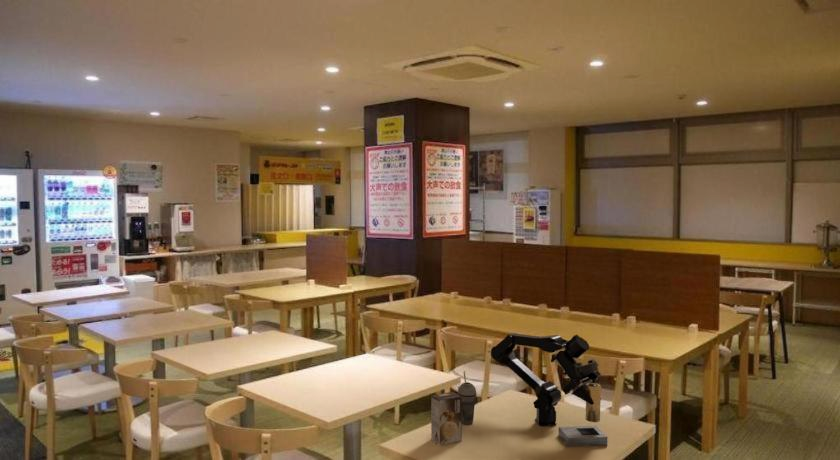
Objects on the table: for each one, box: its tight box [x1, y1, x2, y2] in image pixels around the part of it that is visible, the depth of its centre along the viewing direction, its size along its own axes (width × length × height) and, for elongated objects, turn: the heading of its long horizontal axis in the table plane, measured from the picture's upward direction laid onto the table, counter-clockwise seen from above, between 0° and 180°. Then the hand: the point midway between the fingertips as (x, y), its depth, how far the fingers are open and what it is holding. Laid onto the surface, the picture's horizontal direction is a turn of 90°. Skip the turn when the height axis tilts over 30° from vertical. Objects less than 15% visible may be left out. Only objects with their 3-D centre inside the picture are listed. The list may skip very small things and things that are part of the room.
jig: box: [557, 425, 608, 448], centre depth 212 cm, size 14×10×3 cm
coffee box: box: [430, 391, 463, 446], centre depth 210 cm, size 9×6×16 cm
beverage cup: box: [457, 370, 478, 427], centre depth 226 cm, size 7×7×20 cm
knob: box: [585, 383, 602, 423], centre depth 214 cm, size 5×5×13 cm
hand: (596, 402), depth 213 cm, fingers closed on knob, 5 cm apart
